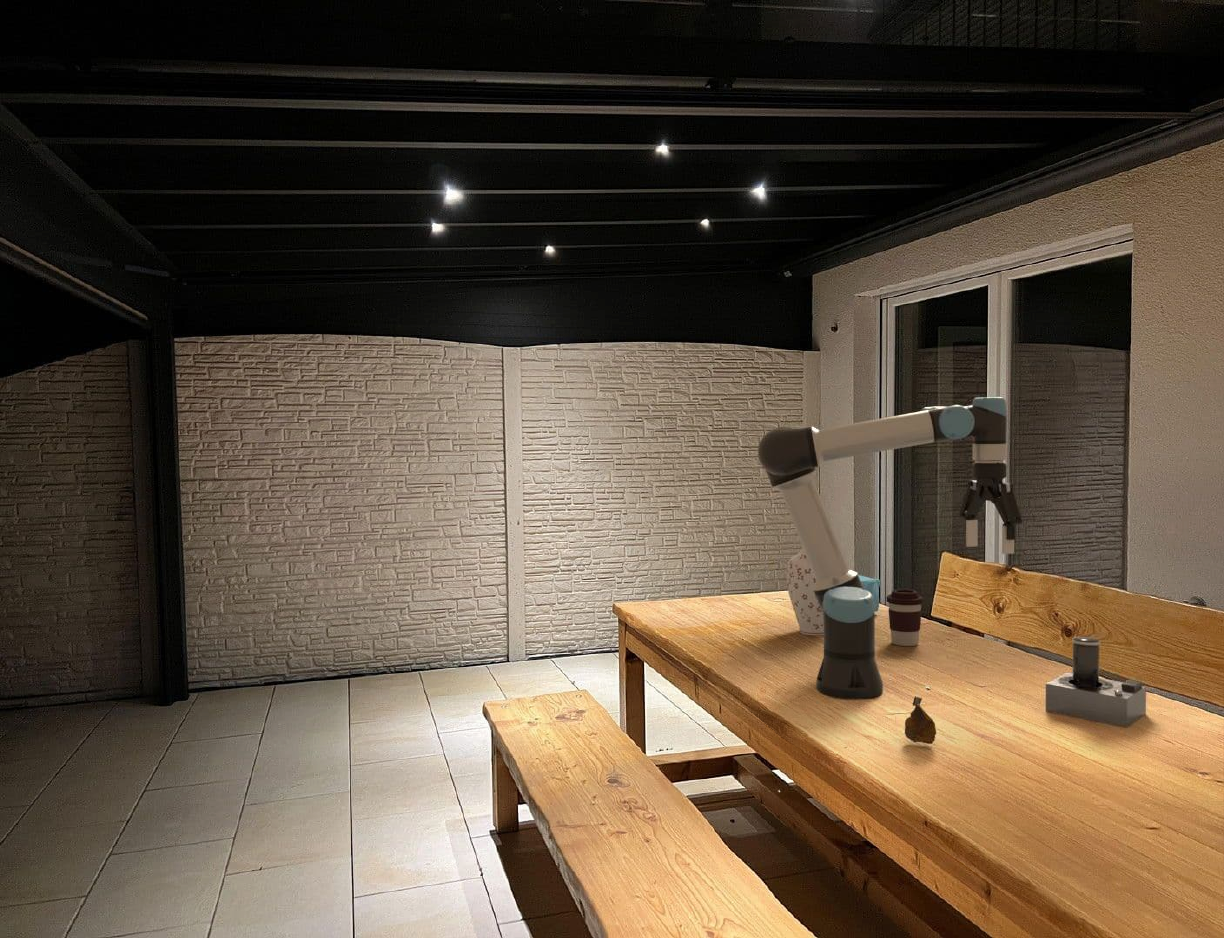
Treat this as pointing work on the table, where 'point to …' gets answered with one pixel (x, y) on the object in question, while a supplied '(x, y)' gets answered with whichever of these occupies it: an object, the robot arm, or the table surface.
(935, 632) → the table surface
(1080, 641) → the lens
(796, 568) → the vase
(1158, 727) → the table surface
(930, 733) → the chicken drumstick
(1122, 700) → the grey block with hole
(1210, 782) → the table surface
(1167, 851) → the table surface
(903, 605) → the coffee cup
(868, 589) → the teapot
